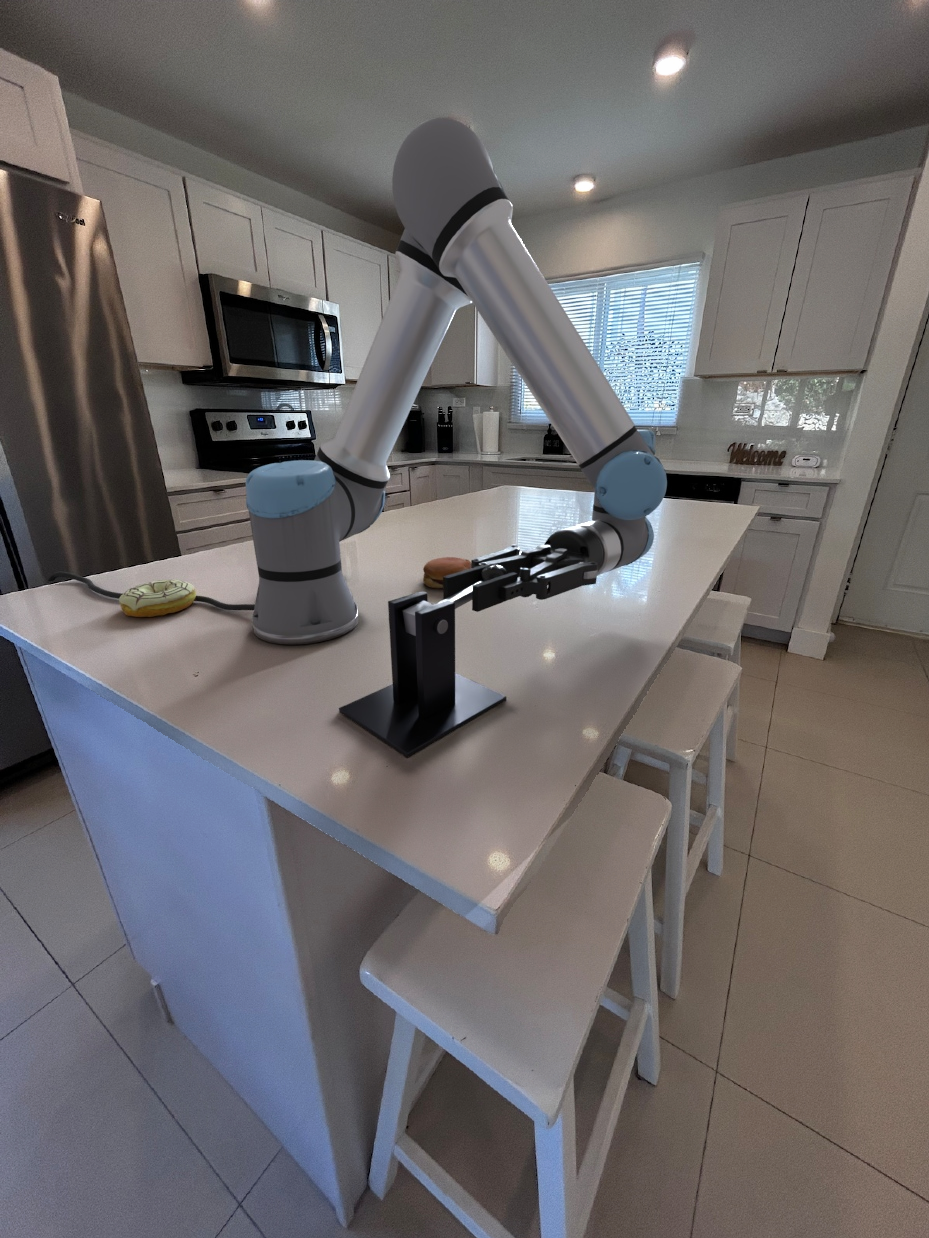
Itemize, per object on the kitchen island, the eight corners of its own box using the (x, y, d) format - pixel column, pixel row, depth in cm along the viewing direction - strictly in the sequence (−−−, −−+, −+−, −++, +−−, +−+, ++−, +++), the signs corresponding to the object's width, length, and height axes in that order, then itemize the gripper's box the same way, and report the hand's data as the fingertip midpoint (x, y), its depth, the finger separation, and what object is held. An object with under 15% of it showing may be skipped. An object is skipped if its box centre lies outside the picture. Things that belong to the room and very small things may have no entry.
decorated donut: (115, 608, 84) (109, 586, 82) (185, 593, 91) (180, 573, 89) (132, 625, 77) (126, 601, 75) (206, 608, 84) (202, 586, 82)
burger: (414, 581, 98) (413, 557, 96) (453, 573, 103) (453, 550, 101) (443, 595, 90) (443, 570, 88) (484, 585, 95) (484, 561, 94)
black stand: (437, 674, 63) (435, 575, 58) (506, 708, 56) (510, 597, 51) (339, 720, 53) (328, 605, 48) (407, 767, 46) (402, 638, 41)
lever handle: (493, 586, 60) (491, 557, 58) (517, 593, 58) (516, 563, 56) (402, 635, 51) (396, 603, 50) (426, 645, 49) (421, 612, 47)
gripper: (634, 593, 65) (521, 649, 49) (529, 568, 76) (409, 608, 60) (641, 535, 62) (524, 575, 47) (532, 517, 73) (406, 545, 57)
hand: (460, 593), depth 53 cm, fingers closed on lever handle, 4 cm apart
